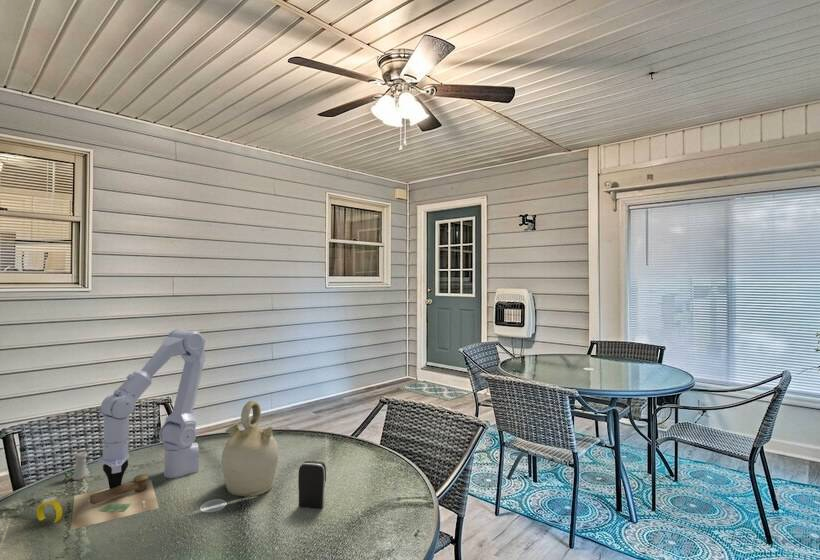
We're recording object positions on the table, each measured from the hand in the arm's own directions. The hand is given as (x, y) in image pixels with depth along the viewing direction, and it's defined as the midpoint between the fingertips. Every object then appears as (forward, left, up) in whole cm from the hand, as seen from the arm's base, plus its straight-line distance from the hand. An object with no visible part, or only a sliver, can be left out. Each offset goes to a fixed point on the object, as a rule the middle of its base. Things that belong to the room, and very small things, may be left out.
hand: (115, 490), depth 119 cm
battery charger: (-43, +32, -3) cm, 54 cm away
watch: (+13, +5, -3) cm, 15 cm away
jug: (-32, +13, -3) cm, 35 cm away
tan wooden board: (0, +3, -3) cm, 4 cm away
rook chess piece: (+8, -20, -3) cm, 22 cm away
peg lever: (-1, +1, -2) cm, 2 cm away
